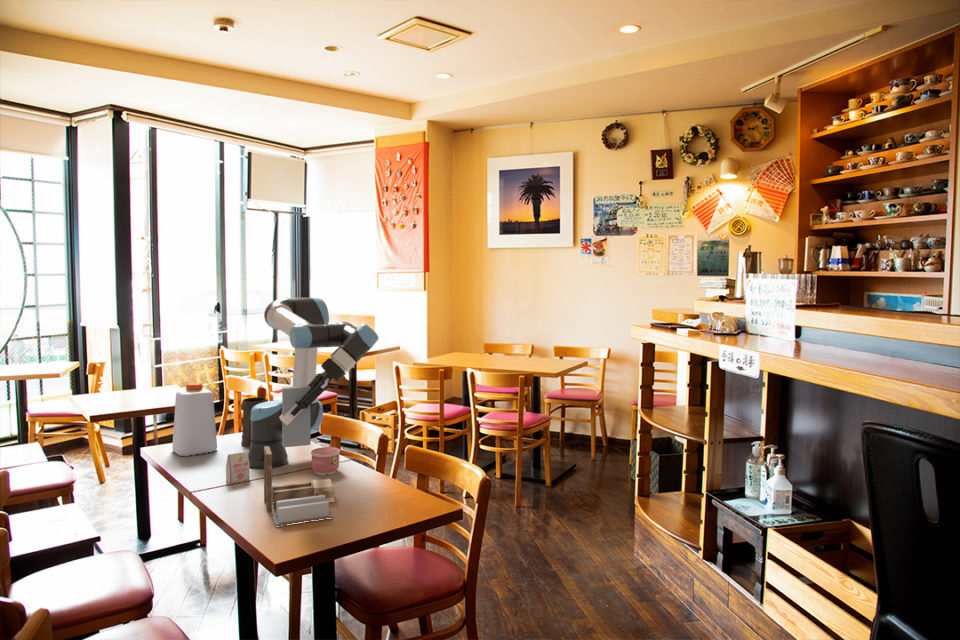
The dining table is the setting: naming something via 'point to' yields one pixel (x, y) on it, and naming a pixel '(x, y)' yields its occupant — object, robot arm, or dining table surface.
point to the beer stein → (248, 418)
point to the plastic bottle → (194, 421)
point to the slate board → (300, 425)
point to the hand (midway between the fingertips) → (283, 421)
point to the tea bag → (237, 468)
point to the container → (325, 460)
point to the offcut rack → (292, 486)
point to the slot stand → (301, 510)
